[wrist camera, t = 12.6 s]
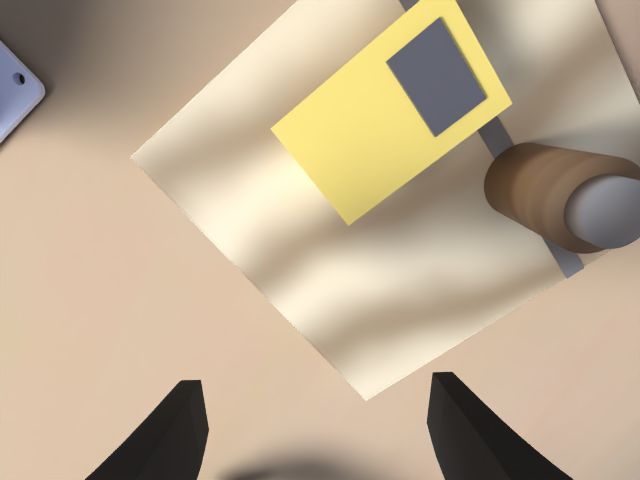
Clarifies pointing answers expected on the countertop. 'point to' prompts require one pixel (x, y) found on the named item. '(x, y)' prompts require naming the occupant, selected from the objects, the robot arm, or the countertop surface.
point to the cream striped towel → (406, 202)
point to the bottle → (567, 195)
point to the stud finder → (394, 108)
